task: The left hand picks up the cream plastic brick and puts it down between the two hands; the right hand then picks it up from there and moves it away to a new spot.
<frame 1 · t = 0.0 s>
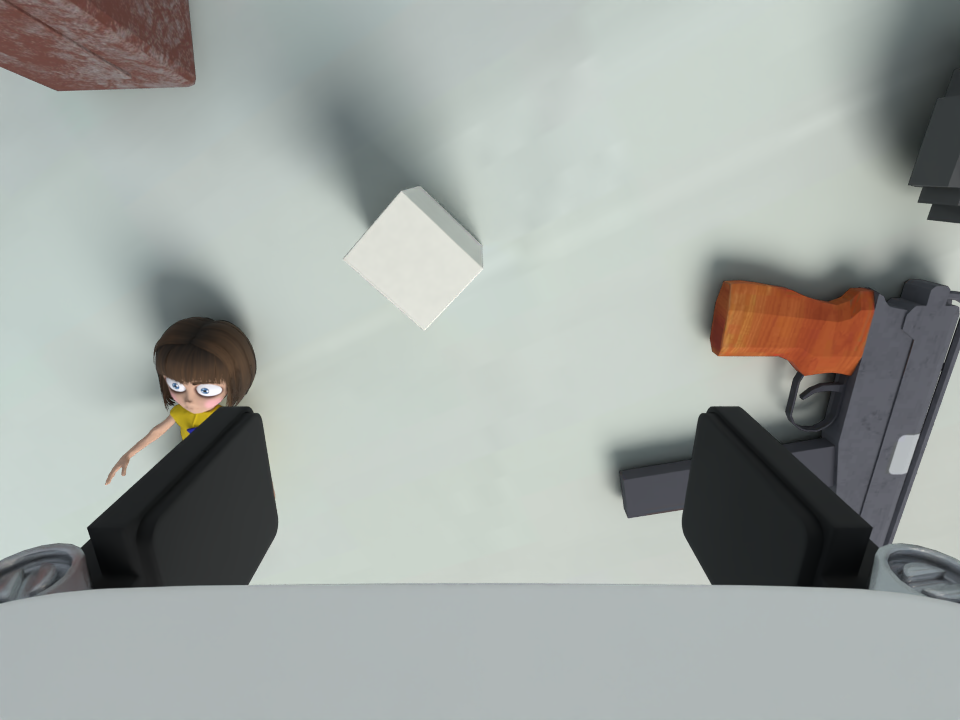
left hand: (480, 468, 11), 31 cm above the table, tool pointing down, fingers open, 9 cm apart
figurine: (223, 443, 46), on the table
toy: (956, 109, 37), on the table
submachine gun: (757, 452, 47), on the table
brick: (428, 242, 40), on the table
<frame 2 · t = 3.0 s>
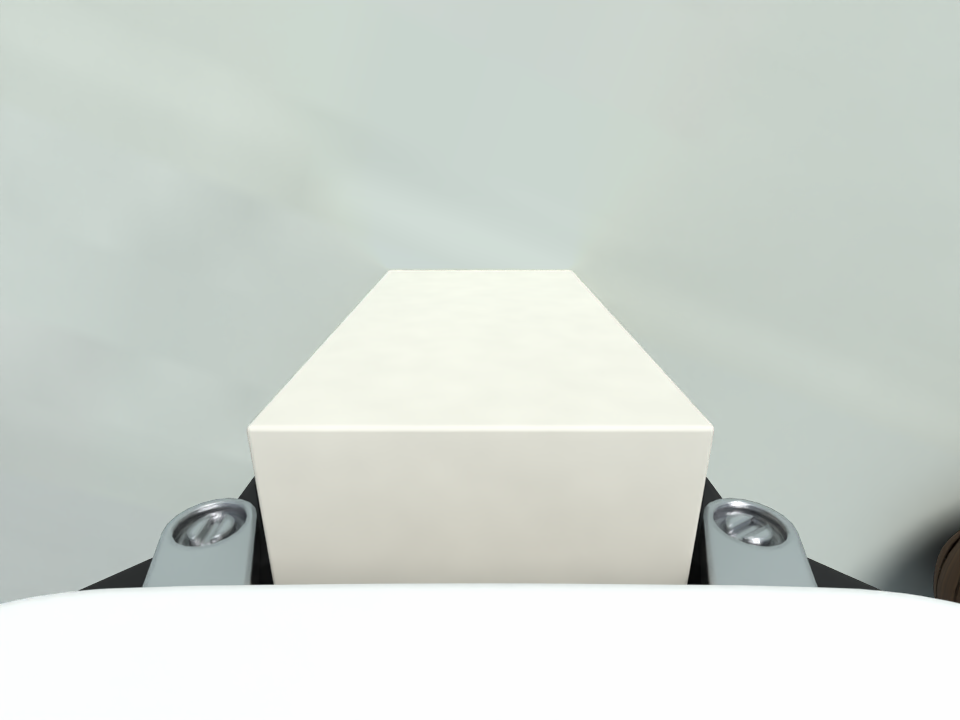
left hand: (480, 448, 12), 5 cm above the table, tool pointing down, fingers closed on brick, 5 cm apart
brick: (480, 372, 16), on the table, touching left hand
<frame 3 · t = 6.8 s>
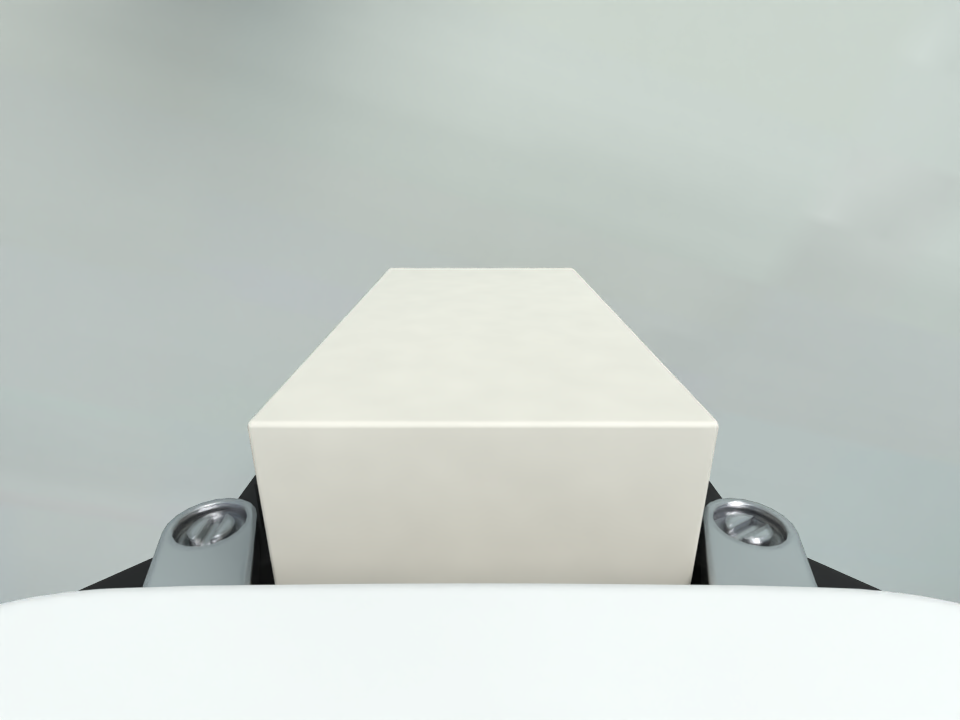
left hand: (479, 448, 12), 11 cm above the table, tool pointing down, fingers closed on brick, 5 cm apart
brick: (481, 371, 16), point 6 cm above the table, touching left hand
when the left hand's fingers open (6 cm above the table, at t = 11.0 s): brick stays where it is, on the table.
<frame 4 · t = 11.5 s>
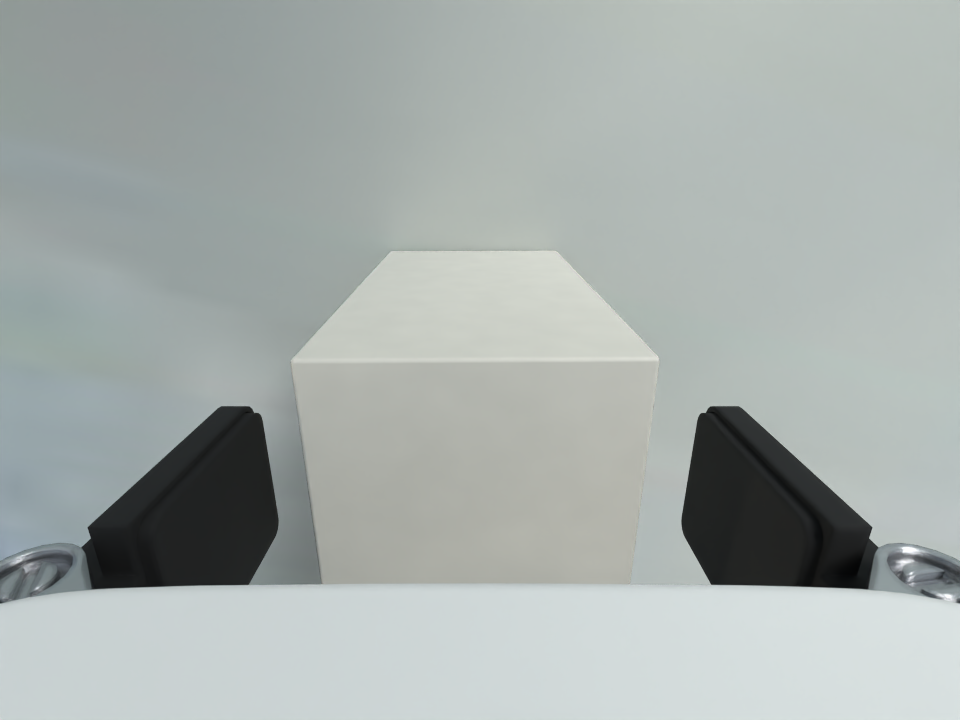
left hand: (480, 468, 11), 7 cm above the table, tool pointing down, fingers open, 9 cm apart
brick: (473, 345, 18), on the table
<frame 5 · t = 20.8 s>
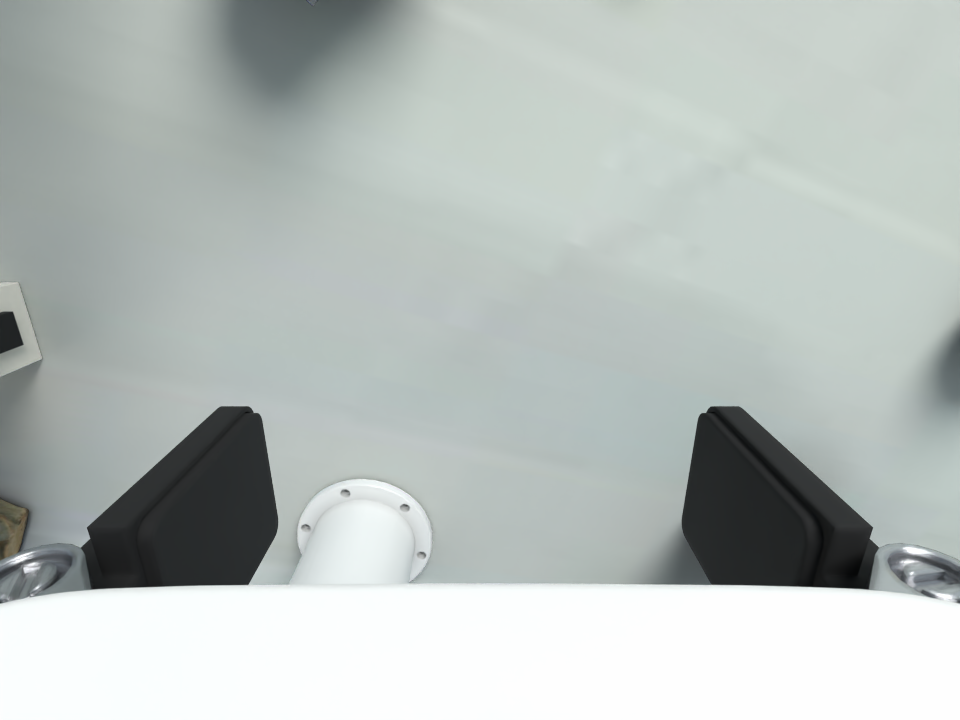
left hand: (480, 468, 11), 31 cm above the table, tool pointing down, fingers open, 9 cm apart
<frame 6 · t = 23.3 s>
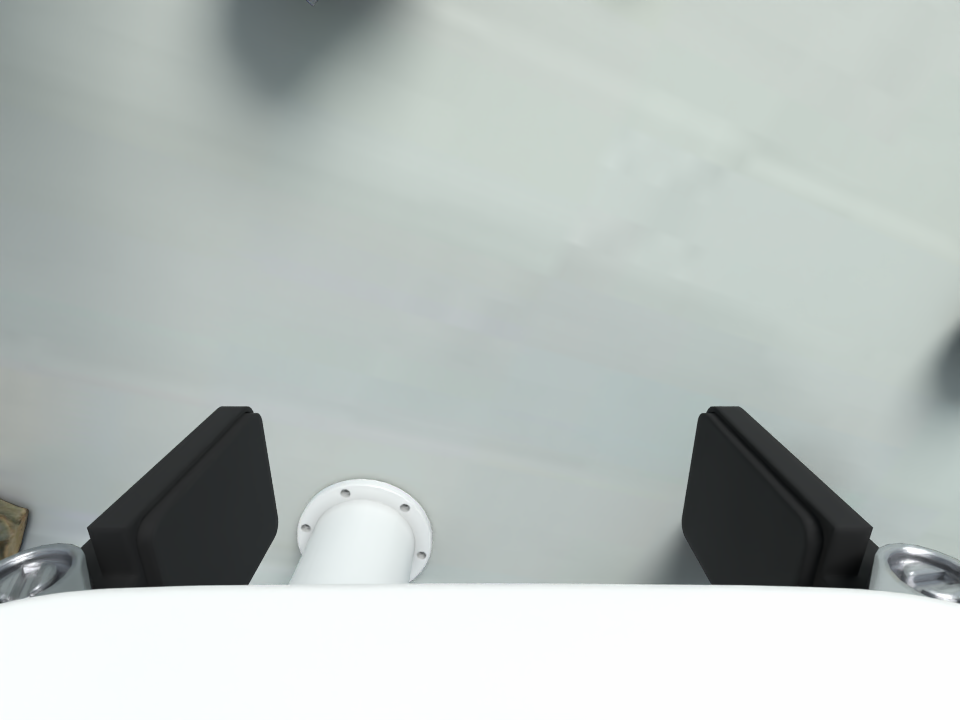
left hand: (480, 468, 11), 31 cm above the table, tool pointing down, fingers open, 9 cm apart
when the right hand's fingers open (3 cm above the table, at t = 26.2 s): brick drops 1 cm, on the table.
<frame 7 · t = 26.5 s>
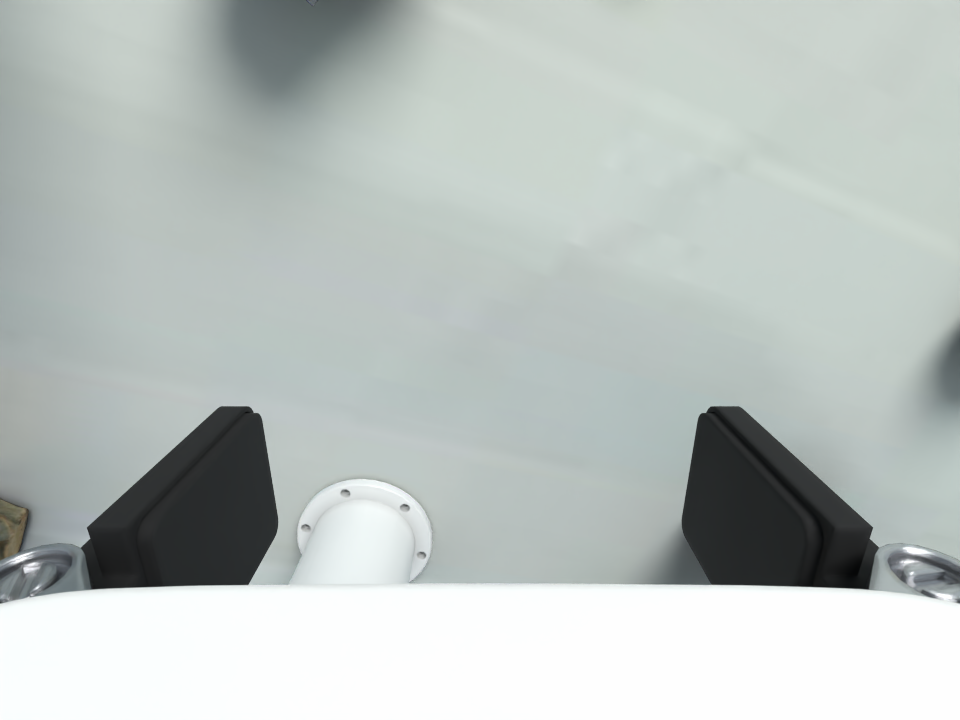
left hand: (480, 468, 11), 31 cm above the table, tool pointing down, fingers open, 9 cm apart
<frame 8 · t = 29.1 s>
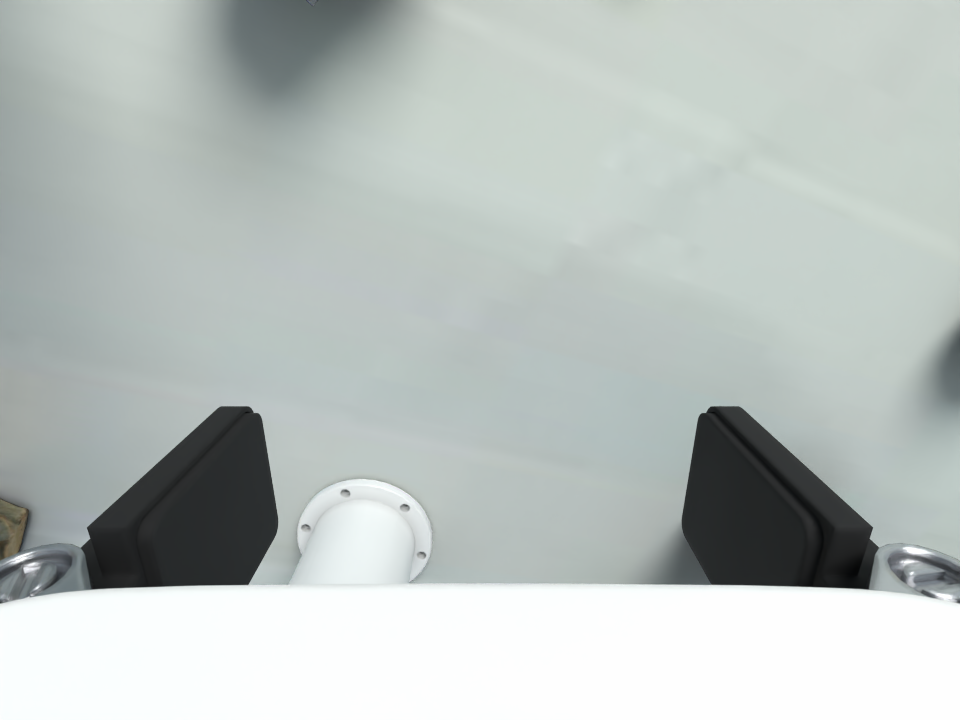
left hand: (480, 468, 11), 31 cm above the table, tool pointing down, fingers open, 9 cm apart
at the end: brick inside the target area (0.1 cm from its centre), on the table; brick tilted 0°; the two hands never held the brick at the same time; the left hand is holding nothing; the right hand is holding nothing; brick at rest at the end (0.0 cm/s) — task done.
